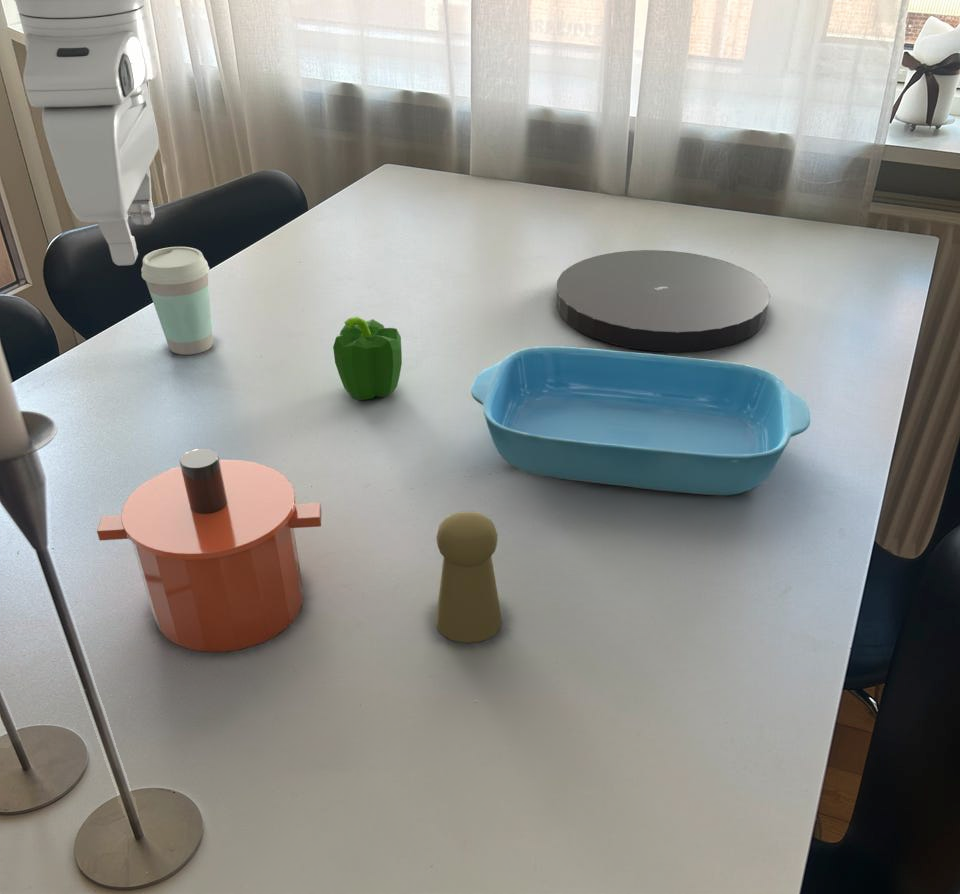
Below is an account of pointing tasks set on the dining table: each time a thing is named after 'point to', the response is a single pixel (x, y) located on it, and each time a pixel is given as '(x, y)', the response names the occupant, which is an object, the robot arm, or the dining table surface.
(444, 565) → the olive pawn piece
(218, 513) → the pot lid
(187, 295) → the coffee cup
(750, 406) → the casserole dish
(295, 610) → the pot
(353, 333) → the bell pepper
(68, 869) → the dining table surface
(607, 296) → the disc
